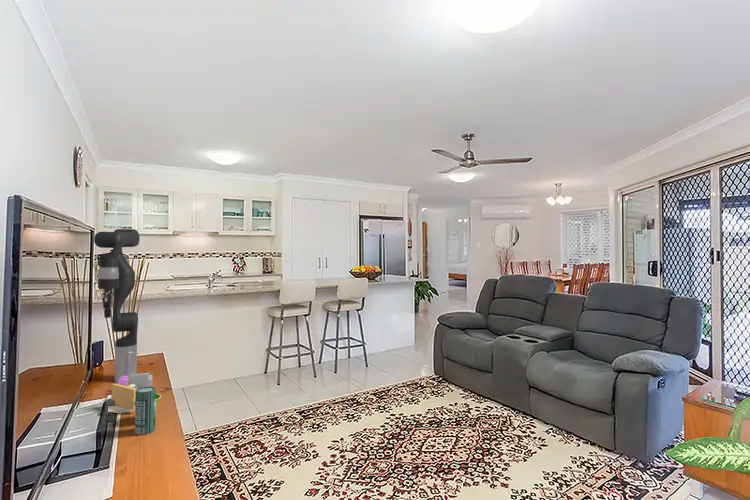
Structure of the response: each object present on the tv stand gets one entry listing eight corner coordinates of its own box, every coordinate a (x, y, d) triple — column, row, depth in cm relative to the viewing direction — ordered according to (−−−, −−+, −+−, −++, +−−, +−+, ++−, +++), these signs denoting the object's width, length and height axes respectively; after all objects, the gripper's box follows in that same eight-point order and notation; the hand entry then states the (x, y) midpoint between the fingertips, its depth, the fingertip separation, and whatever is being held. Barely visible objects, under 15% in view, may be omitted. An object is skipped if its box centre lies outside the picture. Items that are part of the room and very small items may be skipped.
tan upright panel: (102, 404, 164) (103, 384, 164) (115, 400, 168) (115, 381, 168) (129, 411, 157) (129, 391, 157) (141, 407, 161) (141, 387, 161)
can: (158, 428, 146) (159, 387, 146) (145, 436, 140) (146, 392, 140) (144, 426, 148) (145, 385, 148) (130, 434, 142) (131, 391, 142)
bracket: (116, 395, 178) (117, 379, 178) (118, 391, 183) (118, 376, 183) (150, 391, 184) (150, 376, 184) (151, 387, 189) (151, 372, 189)
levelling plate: (108, 397, 175) (109, 375, 175) (157, 391, 184) (157, 370, 184) (101, 415, 156) (101, 391, 156) (155, 408, 165) (155, 384, 165)
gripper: (116, 278, 171) (115, 319, 171) (120, 276, 183) (119, 314, 182) (95, 278, 167) (94, 320, 167) (100, 276, 179) (99, 315, 179)
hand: (107, 317), depth 175 cm, fingers closed
